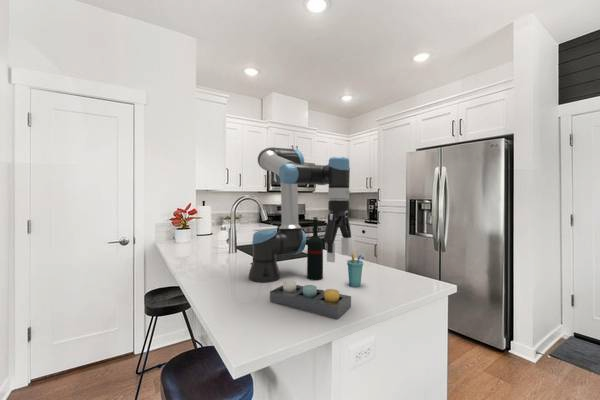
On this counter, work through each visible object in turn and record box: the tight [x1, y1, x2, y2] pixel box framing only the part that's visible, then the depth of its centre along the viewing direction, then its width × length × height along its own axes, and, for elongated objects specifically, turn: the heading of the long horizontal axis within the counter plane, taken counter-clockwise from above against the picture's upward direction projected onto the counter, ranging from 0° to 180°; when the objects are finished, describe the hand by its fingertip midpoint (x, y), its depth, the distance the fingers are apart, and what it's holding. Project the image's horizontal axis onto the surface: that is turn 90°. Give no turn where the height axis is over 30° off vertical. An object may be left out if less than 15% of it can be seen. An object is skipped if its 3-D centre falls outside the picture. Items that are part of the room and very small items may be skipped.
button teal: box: [302, 284, 318, 298], centre depth 104 cm, size 5×5×4 cm
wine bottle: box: [306, 216, 324, 281], centre depth 138 cm, size 8×10×30 cm
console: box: [269, 284, 352, 320], centre depth 104 cm, size 28×12×4 cm, turn 59°
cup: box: [346, 252, 365, 288], centre depth 126 cm, size 14×8×15 cm, turn 14°
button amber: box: [323, 288, 340, 303], centre depth 100 cm, size 5×5×4 cm
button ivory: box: [282, 280, 297, 293], centre depth 109 cm, size 5×5×4 cm
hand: (338, 258), depth 102 cm, fingers open, 13 cm apart
